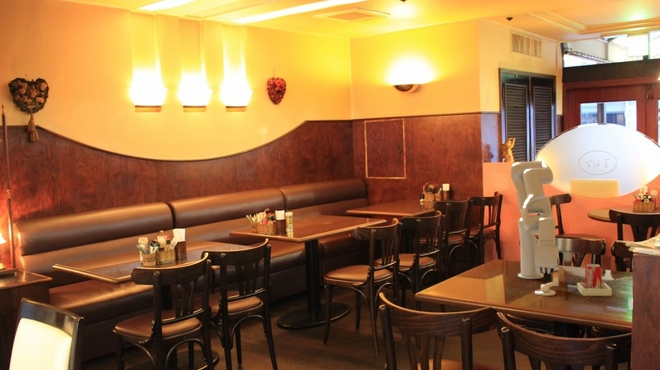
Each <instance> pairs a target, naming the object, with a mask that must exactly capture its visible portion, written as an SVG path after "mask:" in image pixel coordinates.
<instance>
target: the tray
mask: <svg viewBox="0 0 660 370" xmlns="http://www.w3.org/2000/svg"><path fill="white" fill-rule="evenodd" d="M576 289H577V291H578V292H579V293H580V294H581V296H584V297H586V296H587V297H588V296H590V297H599V296H600V297H601V296H602V297H613V289H612V288H611V287H610V286H609V285H608V284H607V283H606V282H602V289H586V286H585V282H576Z"/></svg>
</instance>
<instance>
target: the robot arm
mask: <svg viewBox="0 0 660 370" xmlns="http://www.w3.org/2000/svg"><path fill="white" fill-rule="evenodd" d="M510 178H511V181H512V183H513V185H514V188H515V191H516V198H517V204H518V205H517V206H518V210H519V212H520V213H521V214H520V215H521V217H520V218H519V219H518V221H517V226H518V231H519V233H518V234H519V240H520V241H519V242H520V243H519V244H520V246H519V247H520V272H519V273H517V277H518V278H521V279H527V280H537V279H538V280H539V279H543V280H544V282H546V283H550V281H551V280H552V274H553V273H554V272H556V271H559V269H560V268H559V265H560V258H559V251H558V247H557V246H556V220H555V218H554V217H553V211H552V210H553V209H552V205H551V200H550V199H549V197H548V196H546V195H545V189H544V185H550V184H553V181H554V174H553V171H552V169H551V167H550V166H549V165H548V164H546V162H545V161H543V160H542V161H541V160H540V161H539V160H538V161H537V160H536V161H519V162H518V161H517V162H515V163H513V164H511V166H510ZM535 235H538V238H537V237H536V236H535ZM541 272H542V273H541Z"/></svg>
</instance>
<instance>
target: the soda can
mask: <svg viewBox="0 0 660 370" xmlns="http://www.w3.org/2000/svg"><path fill="white" fill-rule="evenodd" d="M584 270H585V271H584V278H585V279H584V283H585V286H586V289H602V283H603V279H602V278H603V277H602V276H603V275H602V274H603V272H602V271H603V270H602V268H601V265H600V264H596V263H588V264H586V267H585V268H584Z"/></svg>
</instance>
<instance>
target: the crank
mask: <svg viewBox="0 0 660 370" xmlns="http://www.w3.org/2000/svg"><path fill="white" fill-rule="evenodd" d="M551 277H552V281H551V282H550V281H549V282H546V283H545V284H543V283H542V284H540V289H541V291H542V292H549V290H550V288H552V287H559V286H560V284H559V283H560V279H559V278H560V273H559V272H558V271H553V272H552V273H551Z"/></svg>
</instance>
